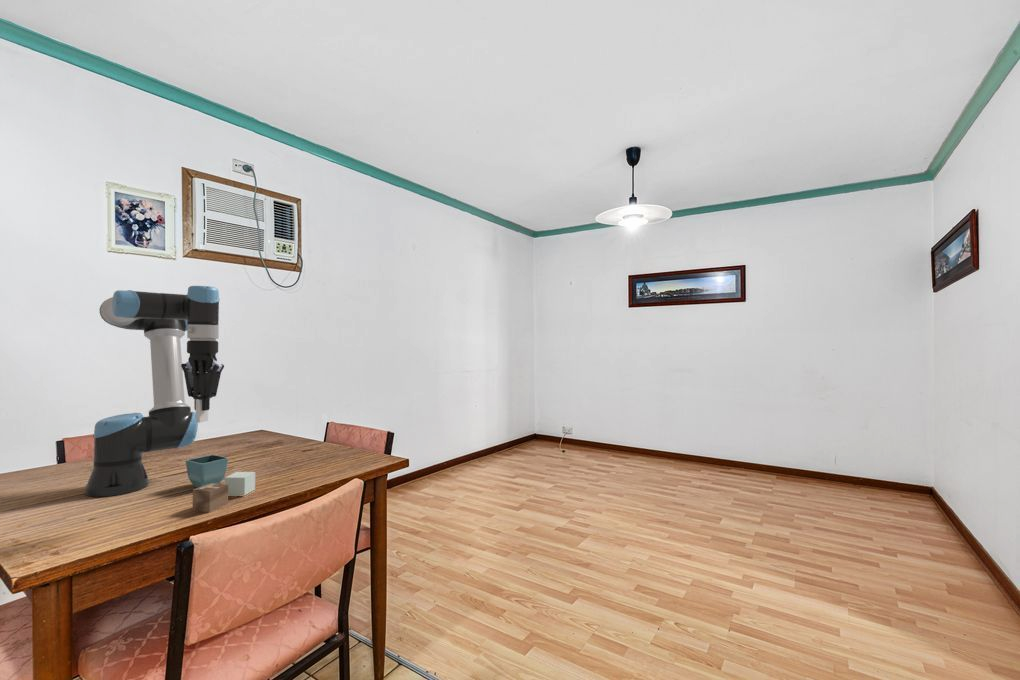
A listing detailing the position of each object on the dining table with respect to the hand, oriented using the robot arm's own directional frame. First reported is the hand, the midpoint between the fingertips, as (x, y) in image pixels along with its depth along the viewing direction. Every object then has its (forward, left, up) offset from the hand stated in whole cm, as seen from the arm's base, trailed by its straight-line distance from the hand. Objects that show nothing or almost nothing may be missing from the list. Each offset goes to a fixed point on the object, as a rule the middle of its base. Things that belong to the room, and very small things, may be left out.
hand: (201, 421), depth 131 cm
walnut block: (+4, 0, -19) cm, 19 cm away
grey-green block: (+2, +12, -25) cm, 27 cm away
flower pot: (-14, +15, -25) cm, 32 cm away
